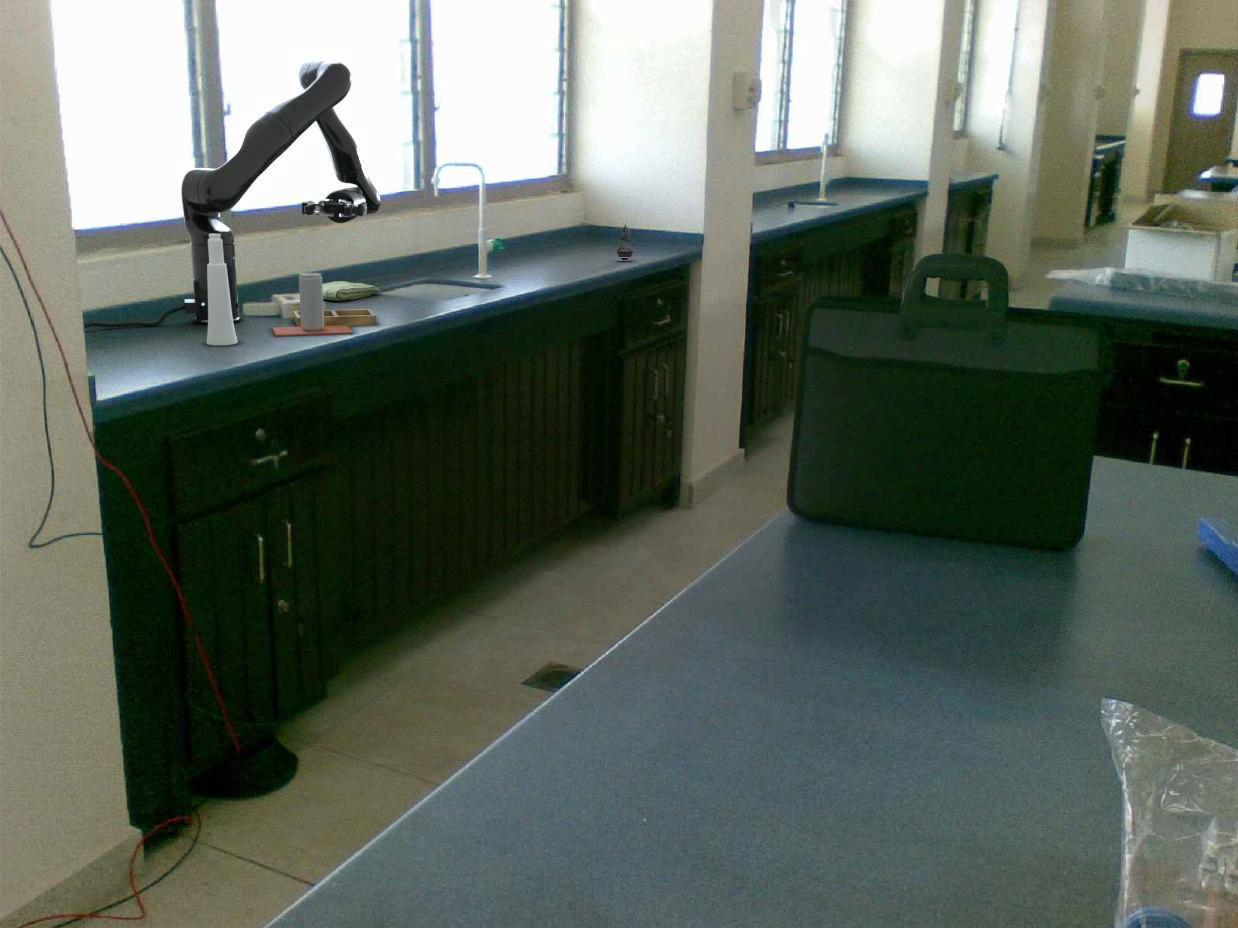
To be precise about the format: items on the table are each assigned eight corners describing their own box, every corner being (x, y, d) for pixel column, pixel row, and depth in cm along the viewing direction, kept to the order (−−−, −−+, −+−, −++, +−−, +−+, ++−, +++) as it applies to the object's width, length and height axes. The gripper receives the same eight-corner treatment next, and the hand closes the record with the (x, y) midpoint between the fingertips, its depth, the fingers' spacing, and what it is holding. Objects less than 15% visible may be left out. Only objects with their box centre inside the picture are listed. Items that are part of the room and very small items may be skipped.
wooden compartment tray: (297, 327, 264) (297, 317, 263) (294, 320, 272) (293, 310, 272) (376, 325, 270) (376, 315, 269) (370, 318, 278) (370, 308, 277)
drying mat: (275, 336, 253) (275, 334, 253) (272, 329, 261) (272, 327, 261) (352, 333, 259) (352, 332, 258) (347, 326, 267) (347, 324, 267)
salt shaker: (636, 261, 398) (637, 224, 394) (627, 262, 393) (628, 225, 390) (621, 259, 401) (622, 223, 397) (612, 261, 396) (613, 224, 393)
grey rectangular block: (318, 332, 257) (315, 276, 254) (297, 330, 258) (294, 274, 255) (328, 328, 262) (325, 273, 258) (307, 327, 263) (304, 272, 259)
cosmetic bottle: (243, 343, 245) (236, 234, 239) (216, 347, 241) (208, 236, 234) (227, 339, 249) (220, 231, 243) (200, 342, 245) (192, 233, 238)
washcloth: (382, 294, 313) (381, 282, 312) (338, 303, 298) (338, 290, 297) (342, 290, 318) (341, 278, 318) (297, 298, 303) (296, 285, 302)
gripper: (313, 188, 285) (294, 192, 270) (372, 190, 285) (358, 194, 270) (314, 220, 287) (296, 226, 272) (373, 222, 287) (359, 228, 272)
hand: (327, 210), depth 271 cm, fingers open, 8 cm apart
